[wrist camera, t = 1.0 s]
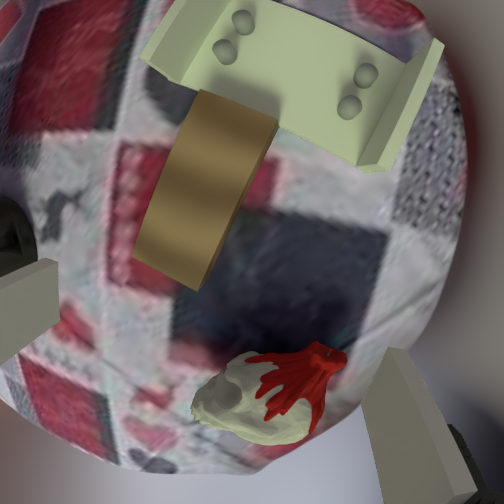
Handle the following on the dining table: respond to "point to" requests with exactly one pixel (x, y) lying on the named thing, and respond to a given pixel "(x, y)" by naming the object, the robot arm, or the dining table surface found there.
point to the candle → (269, 394)
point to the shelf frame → (297, 74)
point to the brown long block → (203, 187)
